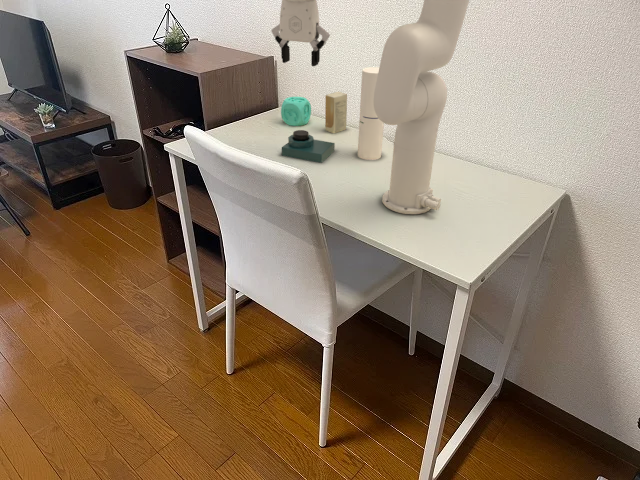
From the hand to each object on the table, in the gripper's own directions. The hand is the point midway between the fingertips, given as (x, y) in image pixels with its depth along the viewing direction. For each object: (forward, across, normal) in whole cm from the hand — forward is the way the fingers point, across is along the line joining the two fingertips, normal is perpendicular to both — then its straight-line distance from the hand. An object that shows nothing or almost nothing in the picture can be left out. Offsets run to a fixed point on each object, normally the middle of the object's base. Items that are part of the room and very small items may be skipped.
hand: (300, 63), depth 136 cm
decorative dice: (+26, -13, +24) cm, 38 cm away
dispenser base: (+26, +2, 0) cm, 26 cm away
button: (+22, 0, 0) cm, 22 cm away
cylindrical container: (+26, +20, +6) cm, 33 cm away
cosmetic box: (+26, +2, +22) cm, 35 cm away
